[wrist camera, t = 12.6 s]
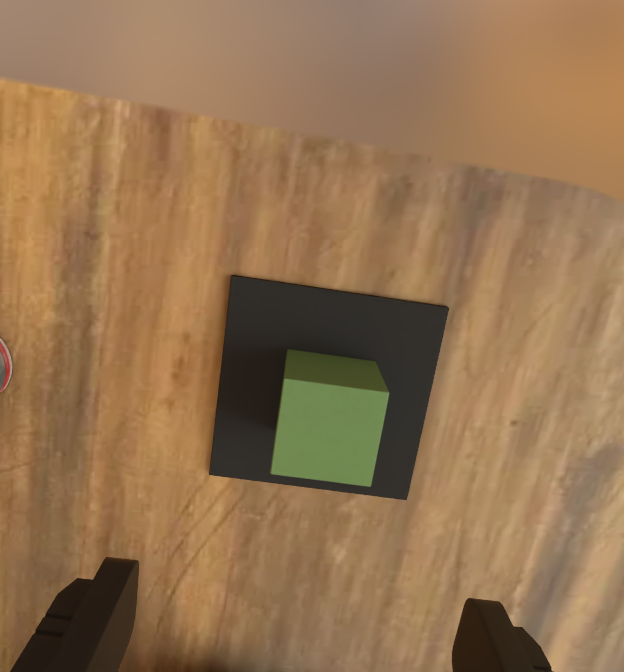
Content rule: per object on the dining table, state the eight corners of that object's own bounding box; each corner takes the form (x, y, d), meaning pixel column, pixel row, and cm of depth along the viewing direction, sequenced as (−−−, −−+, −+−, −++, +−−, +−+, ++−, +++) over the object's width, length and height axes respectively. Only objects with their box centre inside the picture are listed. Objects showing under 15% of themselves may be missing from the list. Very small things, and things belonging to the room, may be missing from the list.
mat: (232, 274, 28) (231, 275, 28) (447, 306, 29) (449, 307, 28) (210, 471, 31) (208, 475, 31) (405, 496, 32) (406, 500, 31)
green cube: (287, 348, 29) (283, 378, 24) (375, 361, 29) (389, 392, 24) (275, 430, 30) (270, 474, 25) (360, 441, 30) (370, 487, 25)
